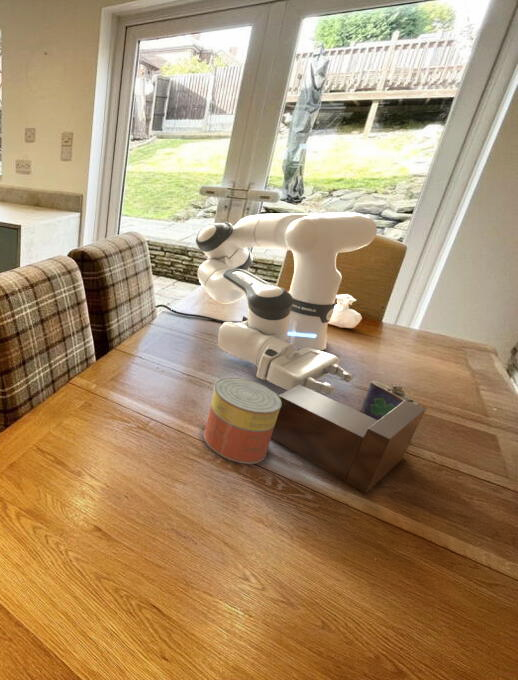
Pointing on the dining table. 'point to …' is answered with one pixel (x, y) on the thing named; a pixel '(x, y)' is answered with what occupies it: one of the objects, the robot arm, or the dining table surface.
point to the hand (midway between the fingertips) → (342, 384)
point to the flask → (383, 399)
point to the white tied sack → (345, 313)
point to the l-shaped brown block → (345, 435)
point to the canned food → (241, 420)
